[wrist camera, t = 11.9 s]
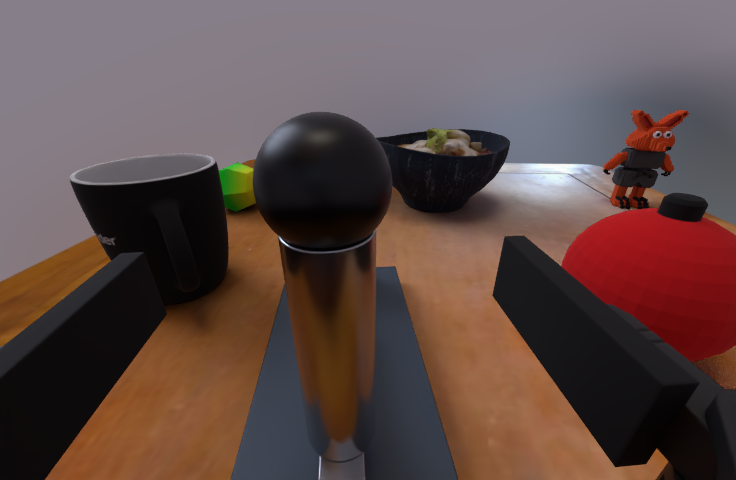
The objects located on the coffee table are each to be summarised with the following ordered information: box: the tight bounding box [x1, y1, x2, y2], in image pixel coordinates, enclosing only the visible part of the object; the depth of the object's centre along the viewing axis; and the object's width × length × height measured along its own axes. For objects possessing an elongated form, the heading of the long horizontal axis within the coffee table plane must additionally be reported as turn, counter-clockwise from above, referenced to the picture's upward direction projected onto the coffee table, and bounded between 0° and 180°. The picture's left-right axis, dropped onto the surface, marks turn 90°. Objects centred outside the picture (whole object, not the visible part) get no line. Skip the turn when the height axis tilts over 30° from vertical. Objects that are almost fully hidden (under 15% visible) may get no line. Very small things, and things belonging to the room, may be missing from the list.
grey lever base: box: [231, 266, 458, 480], centre depth 18 cm, size 18×9×5 cm, turn 4°
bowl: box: [376, 128, 510, 212], centre depth 43 cm, size 17×17×10 cm
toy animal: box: [603, 110, 689, 209], centre depth 40 cm, size 8×6×12 cm
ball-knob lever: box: [253, 112, 392, 480], centre depth 13 cm, size 10×3×13 cm, turn 4°
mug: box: [70, 154, 228, 305], centre depth 24 cm, size 12×9×10 cm
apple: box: [219, 163, 256, 212], centre depth 43 cm, size 7×6×9 cm
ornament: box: [562, 193, 736, 362], centre depth 19 cm, size 9×9×10 cm
